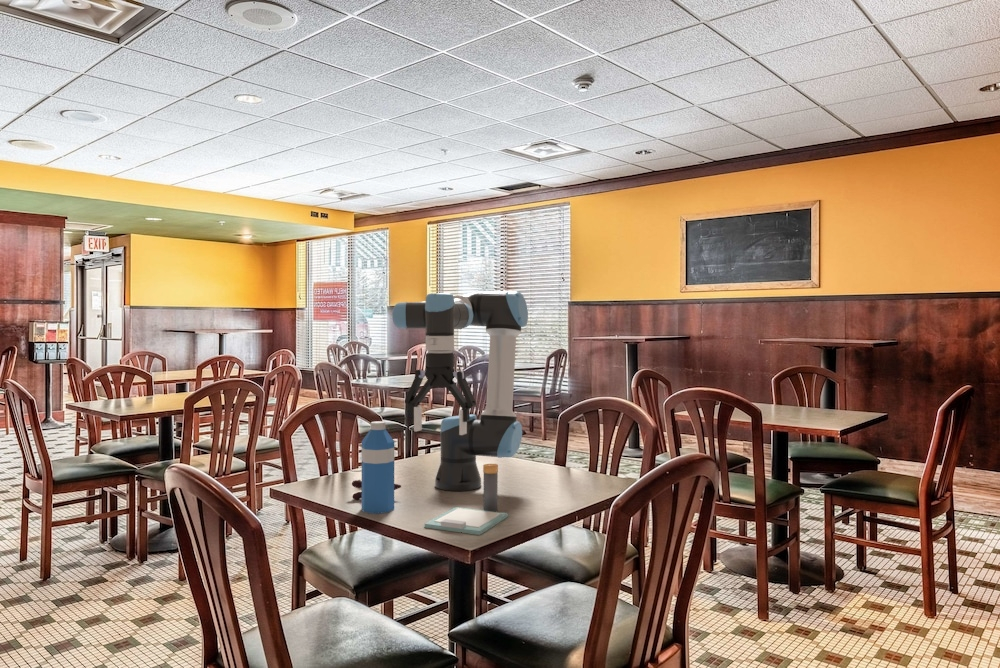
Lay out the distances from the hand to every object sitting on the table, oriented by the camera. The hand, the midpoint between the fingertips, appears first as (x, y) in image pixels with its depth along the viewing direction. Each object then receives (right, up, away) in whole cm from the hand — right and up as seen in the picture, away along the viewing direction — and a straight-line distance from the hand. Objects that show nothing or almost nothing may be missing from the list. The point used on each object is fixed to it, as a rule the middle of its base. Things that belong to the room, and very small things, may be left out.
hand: (440, 432), depth 179 cm
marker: (+13, -24, +15) cm, 31 cm away
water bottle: (-19, -25, +16) cm, 35 cm away
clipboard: (+7, -25, +3) cm, 26 cm away
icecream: (-22, -24, +28) cm, 43 cm away
